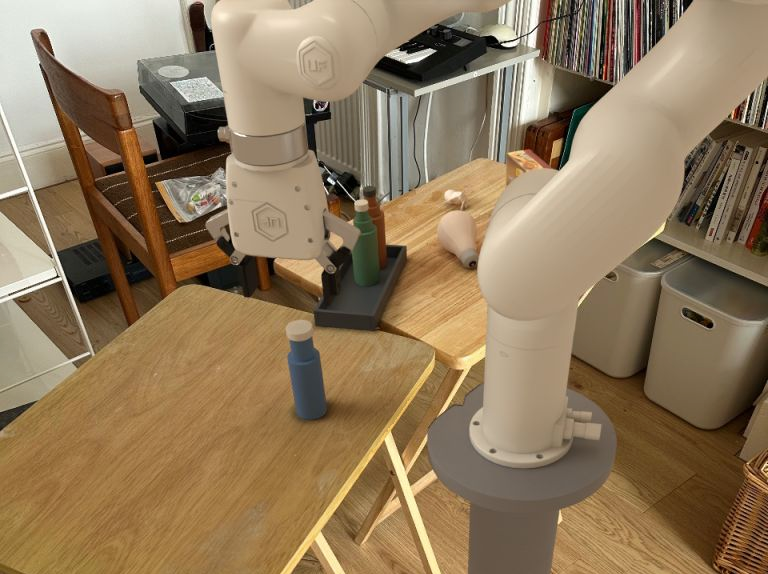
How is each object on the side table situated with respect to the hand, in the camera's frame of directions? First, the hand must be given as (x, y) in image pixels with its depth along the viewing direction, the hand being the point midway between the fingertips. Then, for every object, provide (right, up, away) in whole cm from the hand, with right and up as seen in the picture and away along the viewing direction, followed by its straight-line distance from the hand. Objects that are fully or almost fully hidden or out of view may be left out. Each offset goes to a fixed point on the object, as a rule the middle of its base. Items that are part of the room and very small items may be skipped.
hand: (291, 295), depth 91 cm
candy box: (+33, +16, +37) cm, 52 cm away
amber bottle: (+9, +15, +37) cm, 41 cm away
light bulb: (+23, +17, +38) cm, 48 cm away
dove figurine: (+24, +30, +51) cm, 64 cm away
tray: (+8, +9, +32) cm, 34 cm away
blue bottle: (+1, -12, +12) cm, 17 cm away
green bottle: (+8, +12, +33) cm, 36 cm away
